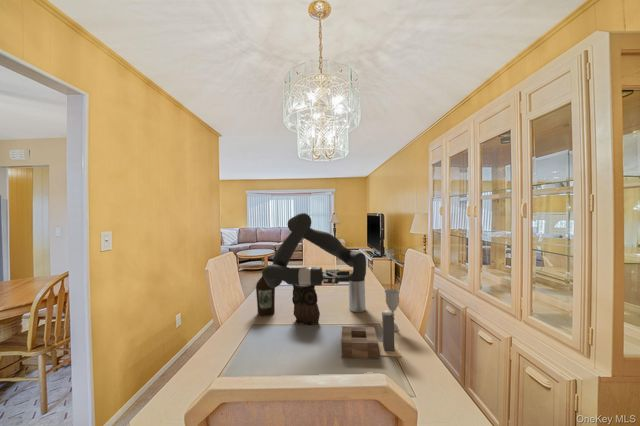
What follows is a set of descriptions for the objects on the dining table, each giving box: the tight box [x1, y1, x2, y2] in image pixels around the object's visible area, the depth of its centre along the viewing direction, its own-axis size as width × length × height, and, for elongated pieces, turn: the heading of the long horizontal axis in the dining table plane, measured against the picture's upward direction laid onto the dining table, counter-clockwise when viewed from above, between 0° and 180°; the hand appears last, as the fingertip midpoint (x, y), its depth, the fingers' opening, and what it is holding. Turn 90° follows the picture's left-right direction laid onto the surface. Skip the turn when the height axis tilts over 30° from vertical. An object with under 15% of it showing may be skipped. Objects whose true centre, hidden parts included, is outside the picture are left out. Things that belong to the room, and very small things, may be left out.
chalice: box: [384, 288, 400, 332], centre depth 124 cm, size 7×7×18 cm
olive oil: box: [255, 268, 276, 317], centre depth 148 cm, size 11×11×25 cm
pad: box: [378, 341, 402, 358], centre depth 105 cm, size 10×8×1 cm
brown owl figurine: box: [291, 285, 321, 326], centre depth 135 cm, size 13×13×20 cm
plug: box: [381, 309, 395, 351], centre depth 105 cm, size 4×4×15 cm
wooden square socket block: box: [340, 326, 379, 360], centre depth 107 cm, size 14×14×6 cm
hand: (349, 276), depth 107 cm, fingers open, 8 cm apart
